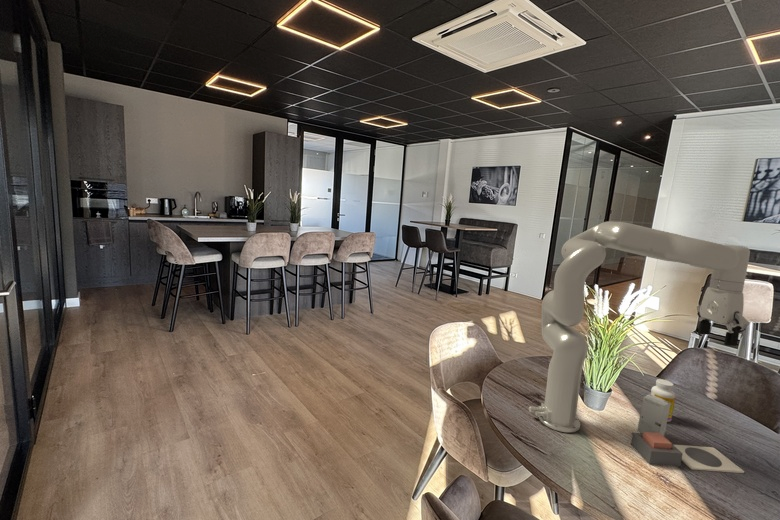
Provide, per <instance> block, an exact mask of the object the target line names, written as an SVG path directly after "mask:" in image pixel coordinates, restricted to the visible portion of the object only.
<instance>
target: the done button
mask: <svg viewBox="0 0 780 520" xmlns="http://www.w3.org/2000/svg"><path fill="white" fill-rule="evenodd" d="M642 438H643V439H644V440H645V441H646V442H647V443H648V444H649V445H650V446H651V447H652V448H658V449H671V447H672V444H673V443H672V442H671V441H670V440H669V439H668V438H666V436H665V435H664V436H663V435H662V434H661V433H651V432H643V437H642Z"/></svg>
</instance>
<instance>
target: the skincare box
mask: <svg viewBox="0 0 780 520" xmlns="http://www.w3.org/2000/svg"><path fill="white" fill-rule="evenodd" d="M642 398H643V399H642V402H641V403H642V404H641V409H640V414H639V418H638V425H637V429H636V432H637V433H643V432H651V433H661V434H662V435H663V436H664V437H665V432H666V427H667V423H668V422H667V419H668V414H669V409H670V405H671V403H670V402H667V401H665V400H663V399H661V398H659V397H656V396H653V395H651V393H649V394H647V395H645V396H643V397H642Z"/></svg>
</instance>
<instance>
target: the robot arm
mask: <svg viewBox="0 0 780 520" xmlns="http://www.w3.org/2000/svg"><path fill="white" fill-rule="evenodd" d="M607 248H608V249H614V250H617V251H622V252H626V253H628V254H629V253H630V254H634V255H638V256H643V257H647V258H651V259H656V260H660V261H666V262H674V263H680V264H685V265H689V266H692V267H695V268H700V269H706V270H709V271H711V276H710V280H709V286H707V288H706V290H705V292H704V294H703V298H702V301H701V304H700V305H697V306H696V310H697V317H698V321H699V323H698V324H699V325H698V332H697V334H699V335H707V336H708V335H710V334H711V328H712V322H714V323H716V324H720V325H725V327H726V328H727V331H726V332H725V336H724V337H725V338H724V341H723V342H724V344H723V345H725V346H731V347H736V346H738V340H739V336H740V334H742V333H743V332H744V331H746V330H747V328H748V326H749V325H750V322H749V320H747V319H746V318H745V316H743V315H744V301H745V299H744V286H745V281H746V276H747V270H748V265H749V261H750V255H751V251H750V248H748V247H745V246H743V245H742V246H741V245H729V244H720V243H717V242H713V241H708V240H704V239H699V238H693V237H688V236H686V235H681V234H678V233H673V232H668V231H665V230H664V231H663V230H660V229H656V228H651V227H647V226H643V225H637V224H634V223H630V222H625V221H608V220H607V221H604V222H601V223H598V224H596V225H594V226H593V227H591V228H589V229H587V230H585V231H583V232H580V233H579V234H576V235H575V236H572V237H571V238H569V239H568V240H567V241H565V243H563V245H562V247H561V253H560V254H561V256H562V258H563V261H562V262H561V263H560V264H559V266H558V267H557V269H556V271H555V274H554V279H553V289H552V290H551V291H549V292H547V293H546V294H545V296H544V297H543V299H542V302H541V307H540V308H541V311H540V312H541V336H542V339H543V341H544V342H545V343H546V344H547V346H548V347H550V348H551V349H552V351H553V354H552V356H551V357H550V361H549V365H548V369H547V379H546V381H547V382H546V389H545V397H544V402H541V404H540V405H538V406H532V405H530V406H528V412H529V413H532V414H533V413H535V414H534V415H535V416H536V417H537V418H538V417H539V418H538V420H539V421H540V422H541V423H542V424H543V425H545V426H546V427H548V428H550V429H552V430H554V431H558V432H561V433H562V432H563V433H568V434H569V433H576V432H578V431H579V430H580V429H581V421H580V420H579V419H578V417H577V413H578V412H577V411H578V403H579V396H580V389H581V388H580V387H581V380H582V372H583V367H584V365H585V363H584V362H585V360H586V358H587V354H588V350H589V348H588V347H589V346H588V342H587V340H586V339H585V338H584V335H582V334H581V333H580V332H579V331H577V330H576V329H575V328H573V327H575V326H579V324H580V323H581V322H582V321H583V319H584V315H585V314H584V313H585V303H584V302H585V284H586V280H587V278H588V276H589V275H590V274H591V273H592V272H593V271H594V270H595V269H596V268H599V267H600V266H601V265H602V264H603V263H604V261H605V259H606V256H607V253H606V249H607Z"/></svg>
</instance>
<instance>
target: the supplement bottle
mask: <svg viewBox="0 0 780 520" xmlns="http://www.w3.org/2000/svg"><path fill="white" fill-rule="evenodd" d="M673 389H674V383H673V382H671V381H669V380H667V379H662V378H659V379H658V378H657V379H656V381H655V385H653V386H652V387H651V390H650V394H651V395H653V396H656V397H659V398H661V399H663V400H665V401H667V402H670V403H671V405H670V409H669V414H668V419H667V423H671V421H672V420H673V415H674V414H673V413H674V407H675V401H676V393H675V391H673Z"/></svg>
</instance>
